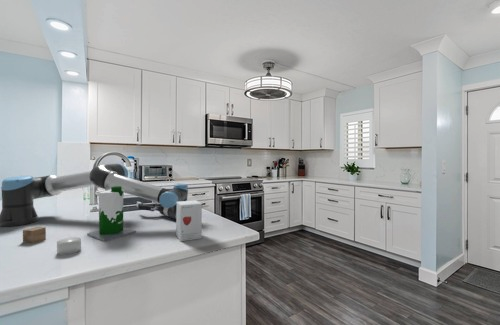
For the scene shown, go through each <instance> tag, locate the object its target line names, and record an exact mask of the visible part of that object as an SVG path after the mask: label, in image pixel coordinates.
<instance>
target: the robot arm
mask: <svg viewBox="0 0 500 325" xmlns="http://www.w3.org/2000/svg"><path fill="white" fill-rule="evenodd" d="M114 186H121V187H122V190H124V194H127V195H131V196H133V197H138V198H142V199H144V200H147V201H152V202H154V203H153V204H145V203H144V202H140V201H136V207H137V208H138V210H140V211H142V210H143V211H149V212H154V211H157V212H159V214H161V215H162V216H165V217H169V218H170V219H174V220H176V211H177V202H179V201H188V193H189V185H188V184H186V183H174V184H173V188H172V189H169V188H164V187H161V186H158V185H156V184H155V185H154V184H151V183H148V182H145V181H140V180H138V179H134V178H130V177H129V171H128V169H127V166H125V165H124V164H122V163H108V164H106V163H103V164H98V165H95V166H94V167H92V169H91V170H87V171H82V172H77V173H72V174H66V175H65V174H64V175H60V176H59V175H57V174H50V175H45V176H38V177H36V176H35V177H33V176H32V175H19V176H11V177H8V178H7V177H6V178H5V179H3V180H2V181H1V187H0V188H1V211H0V227H15V226H16V227H17V226H23V225H28V224H29V225H30V224H32V223H36V222H38V220H39V216H38V213H37V211H36V208H35V207H34V200H37V199H43V198H50V197H54V196H58V195H60V194H62V193H63V192H68V191H71V190H72V191H73V190H78V189H83V188H84V189H85V188H90V187H97V188H100V189H103V190H105V191H111V187H114Z"/></svg>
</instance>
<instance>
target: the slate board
mask: <svg viewBox="0 0 500 325" xmlns="http://www.w3.org/2000/svg"><path fill="white" fill-rule="evenodd" d="M136 233H137V230H135V229H131V228H128V227H125V226H123V230H121V231H120V232H119V233H117V234H99V230H94V231H91V232H87V234H86V235H87V236H88V237H91V238H94V239H96V240H99V241H101V242H107V241H111V240H114V239H118V238H121V237H125V236H128V235H133V234H136Z"/></svg>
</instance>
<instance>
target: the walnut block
mask: <svg viewBox="0 0 500 325" xmlns="http://www.w3.org/2000/svg"><path fill="white" fill-rule="evenodd" d="M46 230H47V228H46V226H32V227H29V228H24V229H22V243H25V244H26V243H27V244H36V243H39V242H41V241H44V239H45V240H47V234H46V233H47V232H46Z"/></svg>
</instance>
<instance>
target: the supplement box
mask: <svg viewBox="0 0 500 325" xmlns="http://www.w3.org/2000/svg"><path fill="white" fill-rule="evenodd" d="M202 204H203V203H202V202H200V201H199V200H197V199H196V200H195V199H194V200H187V201H179V202H177V211H176V219H175V220H176V221H175V222H176V223H175V224H176V225H175V226H176V227H175V229H176V230H175V231H176V232H175V235H176V237H177V238H178V240H179V241H180V242H185V241H192V240H199V239H202V229H203V228H202V223H203V222H202V217H203V216H202V214H203V212H202V211H203V209H202V208H203V207H202V206H203V205H202Z"/></svg>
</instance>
